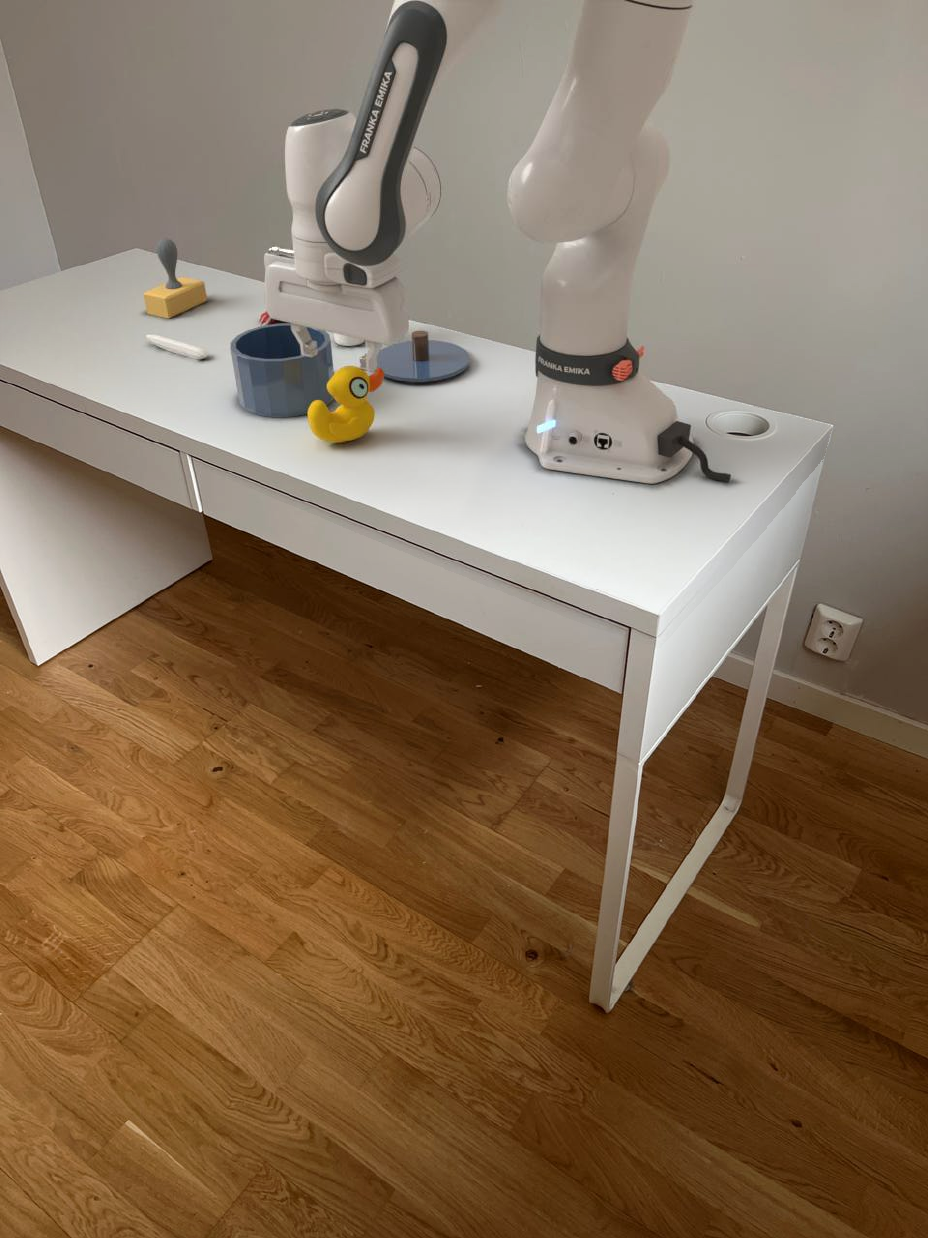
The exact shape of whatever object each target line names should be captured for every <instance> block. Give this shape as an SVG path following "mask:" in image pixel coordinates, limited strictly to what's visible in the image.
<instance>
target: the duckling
mask: <svg viewBox="0 0 928 1238" xmlns="http://www.w3.org/2000/svg"><path fill="white" fill-rule="evenodd" d="M384 377H385V376H384V372H383V370H382V369H381V368H380V367H379V368H378V369H377V370H375V372H372V374H370V375H369V374H368V372H367V371H364V370H361V369H360V366H359V367H358V366H356V365H345V366H343V367H340V368H339V369H338V370H336V372H334V375H333V376H332V378H331V379H330V380H329V381H328V383H327V390H328V392H329V393H330V394H331V395H332V396H333V397H334V399H333V400H335V401H336V402H337V403H338V404H340V405H339V406H338V407H337V408H335V410H333V411H330V409H329V407H328V405H327V406H326V405H325V403H324V402H323V401H321V400H315V401H313V402H312V403H311V405H310V407H309V409H308V414H307V422H308V423H309V424H308V425H309V428H310V430H311V432H312V434H313V435H314V436H315V437H316V438H318V439H319V440H322V441H323V442H326V443H327V442H328V443H336V444H337V443H338V444H339V443H345V442H350V441H355V440H358V439H360V438H362V437H363V436H365V434H367V432H368V431H369V430H370V428H371V427H372V425H373V423H374V421H375V417H376V416H375V414H376V413H375V409H374V407H373V405H372V404H371V402H370V401H368V400H367V398H368V396H369V393H373V392H375V391H377V389H379V388H380V387H381V386H382V384H383V381H384Z"/></svg>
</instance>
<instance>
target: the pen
mask: <svg viewBox="0 0 928 1238" xmlns="http://www.w3.org/2000/svg"><path fill="white" fill-rule="evenodd" d="M145 337H146V339H147V340H148V341H149V342H150V343H151V344H152V345H154V346H155V347H156V346H157V347H158V348H160V349H163V350H166V351H168V352H170V353H173V354H177V355H180V356H184V357H187V358H191V359H194V360H197V361H198V360H203V359H206V358H207V357H208V354H207V352H206V350H204V349H203V348H201V347H199V346H196V345H192V344H190V343H187V342H182V341H179V340H176V339H173V338H168V337H165V336H162V335H158V334H146V335H145Z"/></svg>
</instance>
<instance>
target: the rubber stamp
mask: <svg viewBox="0 0 928 1238" xmlns="http://www.w3.org/2000/svg"><path fill="white" fill-rule="evenodd" d="M156 254H157V256H158V259H159V261H160V263H161V265H162V267H163V268H164V270H165V272H166V274H167V278H168V281H167V282H166V283H165V282H164V283H162V284H161V285H158V286H155V287H154V288H151V289H149V290H147V291H144V292H143V299H144V304H145V309H146V313H147V315H150V316H154V317H159V318H165V319H168V320H169V319H171V318H173V317H176V316H178V315H180V314H182V313H185V312H186V311H189V310H191V309H193V308H195V307H197V306H200V305H202V304H204V303H206V302H208V297H207V296H208V295H207V291H206V285H205V281H203V280H199V279H194V278H189V277H184V276H179V277H176V268H177V263H178V248H177V245H176V243H175V242H174V241H173V240H171V239H170V238H167V237H166V238H161V239H159V241H158V242H157V243H156Z"/></svg>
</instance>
